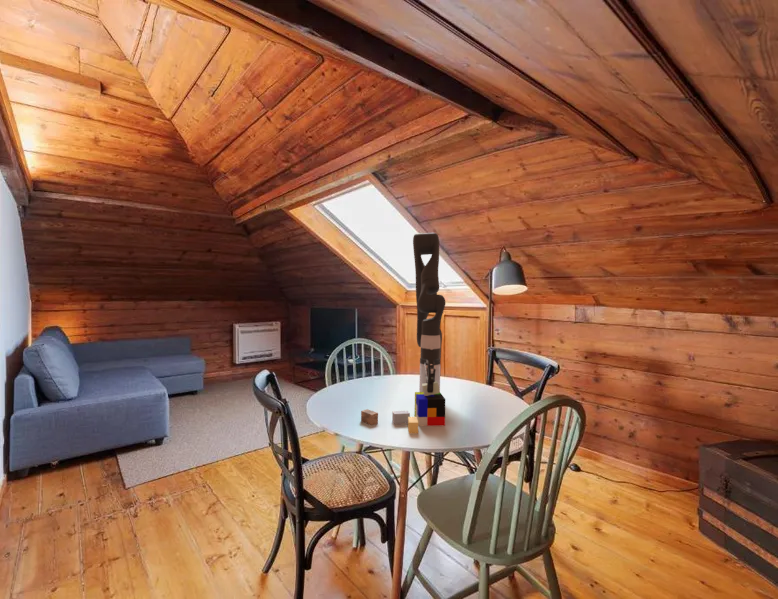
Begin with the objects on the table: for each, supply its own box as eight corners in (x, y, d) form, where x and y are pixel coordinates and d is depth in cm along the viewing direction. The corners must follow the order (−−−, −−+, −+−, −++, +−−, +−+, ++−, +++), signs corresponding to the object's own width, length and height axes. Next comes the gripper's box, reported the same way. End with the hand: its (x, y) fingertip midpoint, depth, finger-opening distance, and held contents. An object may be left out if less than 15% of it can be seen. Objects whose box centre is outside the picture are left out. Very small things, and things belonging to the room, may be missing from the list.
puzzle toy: (418, 425, 147) (418, 399, 146) (414, 416, 157) (414, 392, 156) (444, 425, 148) (445, 399, 147) (439, 416, 157) (439, 391, 157)
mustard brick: (407, 427, 145) (408, 416, 145) (416, 427, 145) (416, 416, 145) (408, 433, 139) (409, 422, 139) (417, 433, 139) (418, 422, 139)
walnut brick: (361, 421, 151) (361, 411, 151) (367, 419, 153) (367, 409, 153) (371, 425, 147) (371, 414, 146) (377, 423, 149) (378, 412, 149)
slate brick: (394, 424, 148) (394, 414, 148) (392, 421, 151) (392, 411, 151) (409, 423, 149) (409, 413, 149) (407, 420, 152) (407, 410, 152)
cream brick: (424, 396, 150) (422, 385, 150) (423, 393, 153) (421, 383, 153) (439, 393, 150) (437, 382, 150) (438, 390, 153) (436, 380, 153)
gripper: (419, 343, 158) (418, 386, 159) (422, 349, 144) (421, 396, 145) (437, 343, 158) (437, 386, 159) (442, 349, 144) (441, 396, 145)
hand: (429, 390), depth 152 cm, fingers closed on cream brick, 3 cm apart
